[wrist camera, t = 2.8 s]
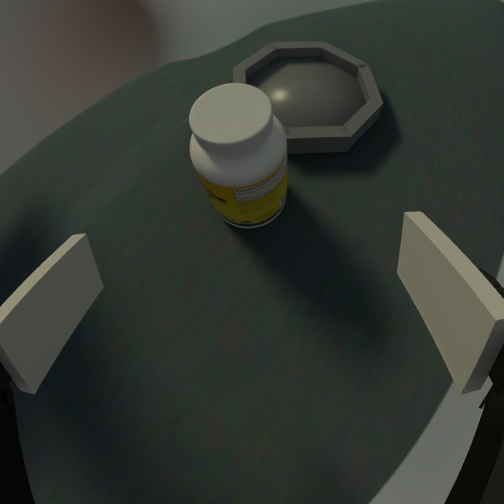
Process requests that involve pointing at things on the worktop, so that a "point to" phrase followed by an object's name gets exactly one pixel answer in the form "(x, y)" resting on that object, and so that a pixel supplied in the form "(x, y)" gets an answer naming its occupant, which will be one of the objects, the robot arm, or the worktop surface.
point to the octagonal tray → (314, 94)
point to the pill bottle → (240, 154)
